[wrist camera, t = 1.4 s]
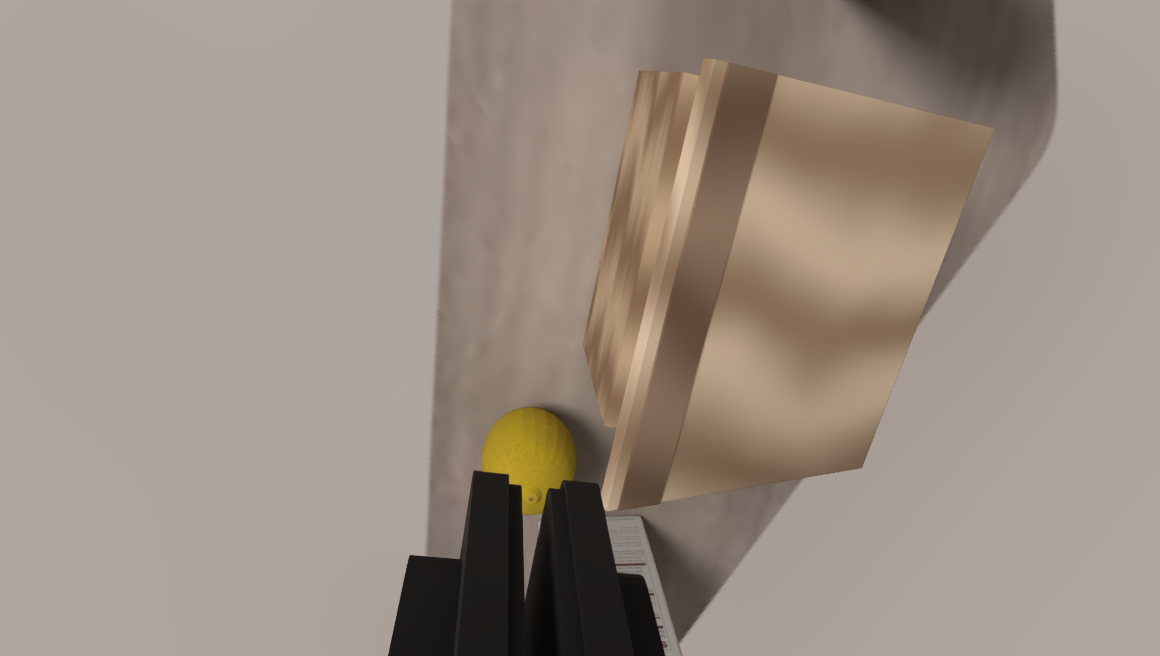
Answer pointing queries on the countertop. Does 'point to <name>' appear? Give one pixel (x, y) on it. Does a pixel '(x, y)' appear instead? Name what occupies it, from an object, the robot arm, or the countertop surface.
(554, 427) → the lemon
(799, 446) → the lid flap
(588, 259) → the countertop surface
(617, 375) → the light brown boxy piece
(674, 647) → the supplement box
